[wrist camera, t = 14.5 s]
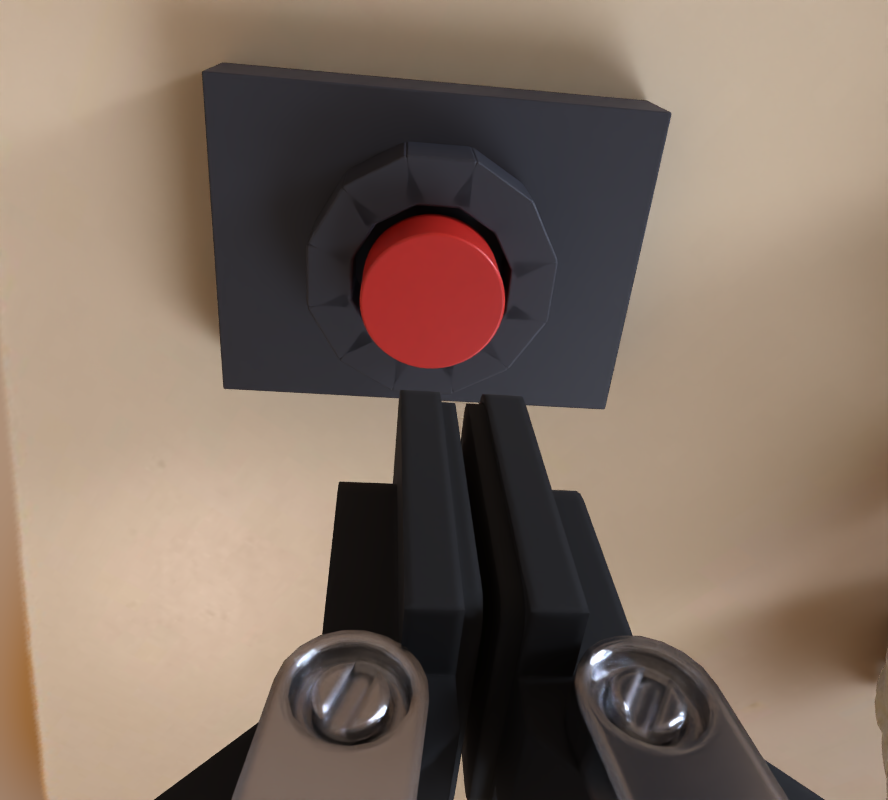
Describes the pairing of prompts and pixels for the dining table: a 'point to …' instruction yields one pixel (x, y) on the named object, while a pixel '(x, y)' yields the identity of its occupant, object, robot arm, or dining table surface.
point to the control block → (415, 193)
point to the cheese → (883, 712)
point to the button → (431, 291)
